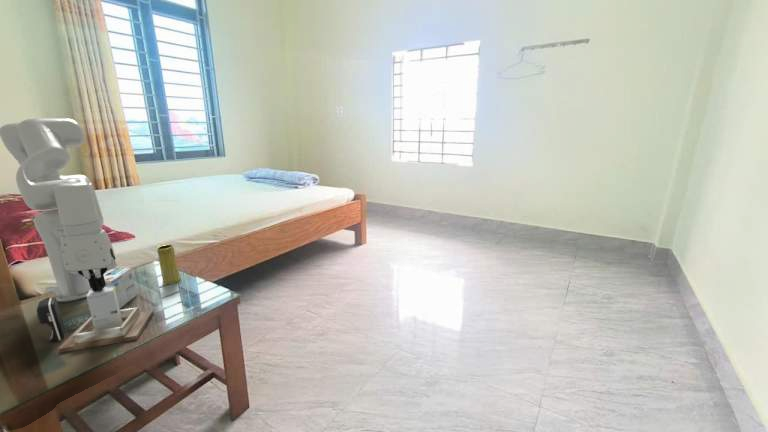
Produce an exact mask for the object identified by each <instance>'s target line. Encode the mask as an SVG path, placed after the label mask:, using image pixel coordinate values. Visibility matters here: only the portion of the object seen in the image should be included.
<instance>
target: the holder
mask: <svg viewBox="0 0 768 432" xmlns="http://www.w3.org/2000/svg"><path fill="white" fill-rule="evenodd" d="M139 308H140V307H138V306H137V307H129V308H124V309H120V313H121V317H122V325H121V327H115V328H109V329H103V330H97V331H95V330H94V326H93V322H92V318H91V316H90V317H89V318H88V319H87V320H84V321H83V322H82V324H81V325H79V326H78V328H76V330H74V332H73V333H72V334H71V335H70V336H69V337H68V338H67V339H66V340H65V341H64V342H63V343H62V344H61V345H60V346H59V347H58V349H57V350H58V351H57V352H58V353H65V352H72V351H77V350H82V349H89V348H94V347H101V346H106V345H111V344H117V343H123V342H129V341H136V340H138V339H139V337H140V336H141V334H142V333H143V331H144V330H145V328H146V326H147V325H148V323H149V322H150V320H151V319H152V317H153V316H154V310H148V311H147V310H146V311H141V312H140V309H139Z"/></svg>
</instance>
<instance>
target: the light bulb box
mask: <svg viewBox="0 0 768 432" xmlns="http://www.w3.org/2000/svg"><path fill="white" fill-rule="evenodd" d="M103 275H104V279H105V283H106V285H105V287H110V286H115V290H116V294H117V299H118V304H119V308H120V309H121V308H123V307H124V306H125V305H127V303H129V302H130V301H131V300H133V299H134V298H135V297H136V296H138V293H137V289H136V284H135V281H134V275H133V272H132V268H131V267H124V268H114V269H111V270H107V271H106V272H105V273H104V274H103ZM91 289H92V288H91Z"/></svg>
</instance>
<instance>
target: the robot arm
mask: <svg viewBox="0 0 768 432" xmlns="http://www.w3.org/2000/svg"><path fill="white" fill-rule="evenodd" d="M0 139H1V141H2V143H3V145H4V146H5V148H6V150H7V151H8V152H9V153H10V154H11V156H12V157H13V158H14V159H15V160H16V161H17V162H18V164H19V167H18V169H17V170H16V176H15V181H16V185H17V188H18V191H19V193H20V196H21V197H22V199H23V201H24V204H25V205H26V206H27V207H28V208H30V209H31V210H33V211H41V212H39V213H37V214H36V215H35V216H34V218H33V224H34V225H33V226H34V227H35V229H36V231H37V233H38V235H39V236H40V239H41V241H42V243H43V245H44V248H45V251H46V254H47V257H48V260H49V264H50V266H51V269H52V273H53V277H54V280H55V283H56V285H52V284H51V285H46V286H45V288H44V289H45V294H52V293H54V295H53V296H54V297H55V298H56V300H57V302H58V303H60V302H62V303H63V302H64V303H65V302H66V303H67V302H73V301H77V300H81V299H85V298H87V294H88V292H89V290H93V292H96V291H101V290H102V289H103V288H104V287H105V285H106V283H105V279H104V275H103V274H105V273H106V272H108V271H109V270H111V269H116V268H117V267H118V264H117V262H116V254H115V251H114V248H113V244H112V242H111V239H110V238H109V235H108V233H107V232H106V230H105V229H102V228H103V225H104V216H103V213H102V211H101V210H102V209H101V206H100V203H99V200H98V196H97V194H96V190H95V187H94V185H93V183H92V181H91V180H90V178H89V177H88V176H87V175H84V174H69V175H67V174H66V175H62V174H61V171H60V170H61V169H63V168H65V167H66V166H68V164H69V163H70V160H71V155H70V152H69V151H68V150H67V149H73V148H74V149H75V148H79V147H81V146H82V145H84V143H85V140H86V136H85V132H84V130H83V127H82V126H81V125H80V123H78V122H77V121H76V120H74V119H71V118H59V117H58V118H56V117H55V118H53V117H52V118H48V117H47V118H45V117H43V118H40V117H38V118H37V117H36V118H28V119H24V120H22V121H20V122H12V123H7V124H4V125H1V127H0ZM91 288H92V289H91ZM54 297H53V298H54Z"/></svg>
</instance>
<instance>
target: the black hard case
mask: <svg viewBox="0 0 768 432" xmlns="http://www.w3.org/2000/svg"><path fill="white" fill-rule="evenodd" d="M58 303H59V302H58V301H57V300H56V298H55V297H50V298H46V299H45V298H44V299H41V300H40V301H39V302H38V304H37V307H36V315H37V319H38V322H39V324H40V325H42V326H43V325H46V326H49V327H50V328H51V332H50V333H49V338H48V340H49V342H50V343H54V342H57V341H61V340H63V339H65V334H66V325H65V322H64V319H63V316H62V312H61V309H60V307H59V304H58Z"/></svg>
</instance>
